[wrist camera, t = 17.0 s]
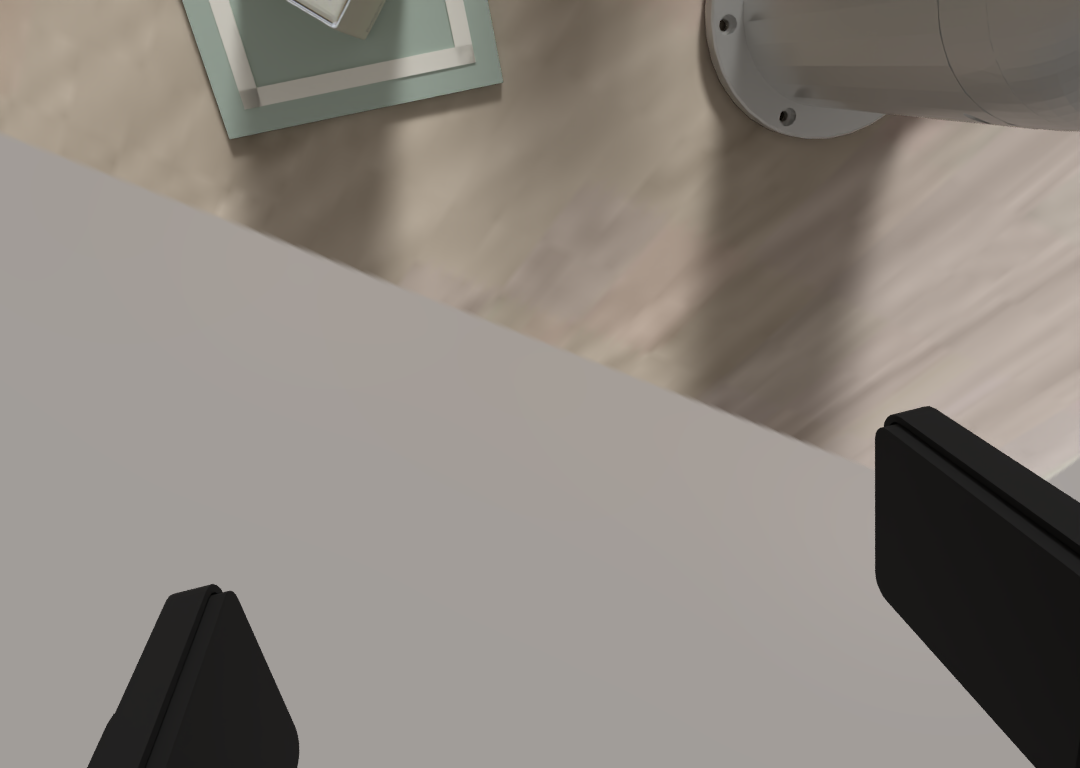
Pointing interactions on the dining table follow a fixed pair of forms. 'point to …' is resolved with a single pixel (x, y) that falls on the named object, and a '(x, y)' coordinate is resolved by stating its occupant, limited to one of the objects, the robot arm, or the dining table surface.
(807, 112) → the robot arm
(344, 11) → the skincare box
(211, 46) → the marked board
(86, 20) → the dining table surface
